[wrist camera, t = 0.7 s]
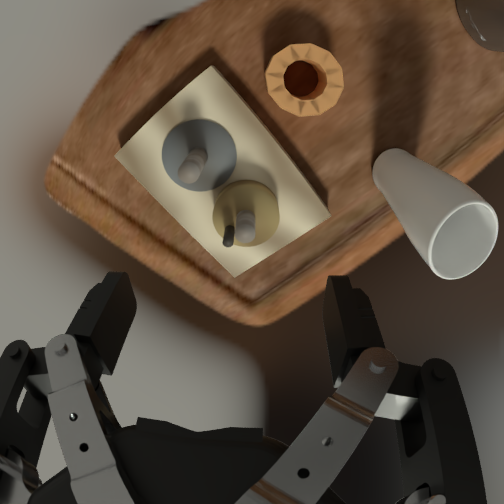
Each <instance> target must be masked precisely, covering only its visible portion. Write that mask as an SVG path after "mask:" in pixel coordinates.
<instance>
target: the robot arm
mask: <svg viewBox="0 0 504 504" xmlns="http://www.w3.org/2000/svg"><path fill="white" fill-rule="evenodd" d="M456 4H457V10H458V13H459V16H460V19H461V21H462V23H463V25H464V27H465V29H466V30H467V32H468V33H469V34H470V36H471V37H472V38H473V39H474V40H475V41H476V42H477V43H478V44H479V45H481V46H482V47H484V48H486V49H488V50H492V51H500V52H504V0H456ZM136 309H137V304H136V298H135V295H134V292H133V289H132V286H131V283H130V279H129V276H128V274H127V273H126V272H108V273H107V275H106V276H105V278H104V280H103V281H102V283H98V284H97V285H95V286H94V287H93V288H92V289H91V290H90V291H89V292H88V294H87V296H86V298H85V299H84V301H83V303H82V304H81V306H80V309H79V310H78V311H77V313H76V315H75V317H74V319H73V320H72V322H71V324H70V326H69V328H68V329H67V331H66V333H65V334H61V335H58V336H56V337H54V338H52V339H51V340H50V341H49V342H48V344H47V346H46V347H42V348H35V349H31V348H30V347H29V345H28V344H27V343H26V342H25V341H24V340H16V341H14V342H12V343H10V344H9V345H8V346H7V347H6V348H5V350H4V352H3V354H2V356H1V357H0V504H346V503H345V502H344V501H343V500H342V499H341V498H340V497H339V496H338V495H337V494H336V493H335V492H334V491H333V490H331V488H330V487H329V485H330V484H331V483H332V481H333V480H334V478H335V477H336V476H337V474H338V473H339V472H340V470H341V469H342V467H343V466H344V464H345V463H346V461H347V460H348V458H349V457H350V455H351V454H352V452H353V451H354V449H355V448H356V446H357V445H358V443H359V441H360V440H361V438H362V437H363V435H364V433H365V432H366V430H367V428H368V427H369V425H370V423H371V422H372V420H373V417H374V416H379V417H385V418H390V419H394V420H395V426H396V433H397V439H398V447H399V454H400V462H401V471H402V480H403V492H404V498H402V499H401V500H399V501H398V502H396V504H487V500H486V493H485V487H484V481H483V475H482V470H481V465H480V460H479V455H478V451H477V446H476V442H475V438H474V434H473V430H472V426H471V422H470V418H469V415H468V411H467V408H466V405H465V401H464V398H463V394H462V391H461V388H460V385H459V382H458V379H457V376H456V373H455V370H454V369H453V367H452V366H451V365H450V364H449V363H448V362H446V361H445V360H442V359H439V358H432V359H429V360H427V361H426V362H425V363H424V364H423V365H422V367H421V366H415V365H410V364H405V363H402V362H399V361H398V360H397V358H396V357H395V355H394V354H392V352H390V351H389V350H387V349H386V348H385V345H384V342H383V339H382V335H381V333H380V330H379V326H378V323H377V320H376V318H375V314H374V311H373V309H372V306H371V303H370V300H369V297H368V296H367V295H366V294H365V293H364V292H363V291H362V290H361V289H360V288H359V289H358V288H356V289H352V286H351V283H350V280H349V277H348V276H347V275H346V276H328V279H327V284H326V290H325V296H324V301H323V310H322V311H323V312H322V315H323V323H324V329H325V335H326V341H327V347H328V353H329V359H330V365H331V371H332V378H333V385H334V388H336V387H339V388H338V389H337V390H336V392H335V393H334V395H333V396H332V397H331V396H330V397H329V398H328V399H327V400H326V401H325V403H324V404H323V405H322V406H321V408H320V409H319V410H318V412H317V413H316V415H315V416H314V417H313V418H312V420H311V421H310V422H309V423H308V425H307V426H306V427H305V429H304V430H303V431H302V433H301V434H300V435H299V436H298V437H297V439H296V440H295V441H294V442H293V443H292V444H291V446H290V447H289V446H287V445H286V444H284V443H282V442H280V441H278V440H276V439H273V438H270V437H267V436H263V428H238V427H229V428H223V429H217V430H210V431H203V432H195V431H191V430H189V429H186V428H183V427H180V426H178V425H175V424H172V423H169V422H167V421H160V420H153V419H147V418H140V417H138V419H137V423H136V425H131V426H127V427H123V428H122V427H121V426H120V424H119V422H118V421H117V419H116V417H115V415H114V413H113V410H112V408H111V405H110V403H109V401H108V398H107V396H106V393H105V391H104V388H103V386H102V383H101V381H100V377H101V375H102V374H107V375H112V374H113V371H114V368H115V366H116V363H117V360H118V357H119V355H120V352H121V350H122V347H123V344H124V342H125V339H126V337H127V334H128V331H129V328H130V327H131V324H132V322H133V319H134V317H135V314H136ZM23 387H24V388H25V389H26V390H27V392H26V394H25V397H24V399H23V402H22V405H21V407H20V410H19V413H18V412H17V408H16V407H17V402H18V399H19V397H20V394H21V391H22V389H23ZM51 415H52V418H53V422H54V425H55V429H56V433H57V436H58V440H59V443H60V446H61V449H62V452H63V455H64V458H65V461H66V464H67V467H66V468H64V469H63V470H61V471H60V472H59V473H57V474H56V475H55V476H53V477H52V478H51V479H49V480H48V481H46V482H45V483H44V484H42V481H41V480H40V479H39V474H38V471H37V469H36V467H37V463H38V459H39V456H40V452H41V448H42V445H43V441H44V438H45V435H46V431H47V428H48V425H49V422H50V418H51Z"/></svg>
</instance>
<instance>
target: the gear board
mask: <svg viewBox="0 0 504 504" xmlns="http://www.w3.org/2000/svg"><path fill="white" fill-rule="evenodd" d="M115 157H116V158H117V160H118V161H119V162H120V163H121V164H122V165H123V166H124V167H125V168H126V169H127V170H128V171H129V172H130V173H131V174H132V175H133V176H134V177H135V178H136V179H137V180H138V181H139V182H140V183H141V185H142V186H143V187H144V188H145V189H146V190H147V191H148V192H149V193H150V194H151V195H152V196H153V197H154V198H155V199H156V200H157V201H158V202H159V203H160V204H161V205H162V206H163V207H164V208H165V209H166V210H167V211H168V212H169V213H170V214H171V215H172V216H173V217H174V218H175V219H176V220H177V221H178V222H179V223H180V224H181V225H182V226H183V227H184V228H185V229H186V230H187V231H188V232H189V233H190V234H191V235H192V236H193V237H194V238H195V239H196V240H197V241H198V242H199V243H200V244H201V245H202V246H203V247H204V248H205V249H206V250H207V251H208V252H209V253H210V254H211V255H212V256H213V257H214V258H215V259H216V260H217V261H218V262H219V263H220V264H221V265H222V266H223V267H224V268H225V269H226V270H227V271H228V272H229V273H230V274H231V275H232V276H233V277H234V278H235V277H236V276H238V275H240V274H241V273H243V272H244V271H246V270H248V269H249V268H251V267H252V266H254V265H255V264H257V263H259V262H260V261H262V260H263V259H265V258H266V257H268V256H270V255H271V254H273V253H274V252H276V251H278V250H279V249H281V248H282V247H284V246H285V245H287V244H289V243H290V242H292V241H293V240H295V239H296V238H298V237H299V236H301V235H303V234H304V233H306V232H307V231H309V230H310V229H312V228H314V227H315V226H317V225H318V224H320V223H321V222H323V221H324V220H326V219H328V218H329V217H331V214H330V212H329V210H328V208H327V206H326V205H325V203H324V202H323V200H322V199H321V198H320V196H319V195H318V194H317V192H316V191H315V189H314V188H313V187H312V185H311V184H310V183H309V181H308V180H307V179H306V177H305V176H304V174H303V173H302V172H301V170H300V169H299V168H298V167H297V165H296V164H295V163H294V161H293V160H292V159H291V157H290V156H289V155H288V153H287V152H286V151H285V150H284V148H283V147H282V146H281V144H280V143H279V142H278V141H277V139H276V138H275V137H274V136H273V134H272V133H271V132H270V131H269V129H268V128H267V127H266V126H265V124H264V123H263V122H262V121H261V120H260V118H259V117H258V116H257V115H256V114H255V112H254V111H253V110H252V109H251V108H250V106H249V105H248V104H247V103H246V102H245V100H244V99H243V98H242V97H241V96H240V95H239V93H238V92H237V91H236V90H235V89H234V88H233V87H232V85H231V84H230V83H229V82H228V81H227V80H226V79H225V78H224V76H223V75H222V74H221V73H220V72H219V71H218V70H217V69H216V68H215V66H210V67H209V68H207V69H206V70H205V71H204V72H202V73H201V74H200V75H199V76H198V77H196V78H195V79H194V80H193V81H192V82H190V83H189V84H188V85H187V86H186V87H185V88H184V89H182V90H181V91H180V92H179V93H178V94H177V95H176V96H174V97H173V98H172V99H171V100H170V101H169V102H168V103H167V104H166V105H165V106H163V107H162V108H161V109H160V110H159V111H158V112H157V113H156V114H155V115H154V116H153V117H152V118H151V119H150V120H149V121H148V122H147V123H146V124H145V125H144V126H143V127H142V128H141V129H140V130H139V131H138V132H137V133H136V134H135V135H134V136H133V137H132V138H131V139H130V140H129V141H128V142H127V143H126V144H125V145H124V146H123V147H122V148H121V149H120V150H119V152H118V153H117V154H116V155H115Z"/></svg>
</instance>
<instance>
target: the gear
mask: <svg viewBox="0 0 504 504" xmlns="http://www.w3.org/2000/svg"><path fill="white" fill-rule="evenodd" d="M300 60H302V61H304V62H307V63H309V64H311V65H312V66H313V67H314V69H315V70H316V71H317V74H318V84H317V86H316V88H315V90H314V91H313V92H311V93H310V94H308V95H307V96H294V95H292V94H290V93H289V92H288V90H287V89H286V88H285V85H284V78H283V75H284V73H285V71H286V69H287V67H288V66H289V65H290V64H292V63H293V62H295V61H300ZM264 75H265V82H266V88H267V91H268V93H269V94H270V96H271V97H272V98H273V99H274V101H275V102H276V103H277V104H278V106H279V107H280V108H281V109H283V110H285V111H288V112H290V113H293V114H295V115H297V116H300V117H301V116H313V115H320V114H322V113H323V112H325V111H326V110H328V109H329V108H331V107H332V106H334V105H336V103H337V101H338V99H339V96H340V94H341V92H342V90H343V88H344V84H343V74H342V68H341V66H340V65H339V64H338V62H337V61H336V60H335V58H334V57H333V55H332V54H331V53H330V52H329V51H327V50H324V49H322V48H320V47H318V46H316V45H314V44H312V43H307V44H291V45H289V46H287V47H286V48H284V49H283V50H281V51H280V52H278V53H277V54H275V55H274V56H273V57H271V59H270V61H269V64H268V66H267V68H266V70H265V73H264Z"/></svg>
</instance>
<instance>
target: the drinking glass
mask: <svg viewBox="0 0 504 504" xmlns="http://www.w3.org/2000/svg"><path fill="white" fill-rule="evenodd" d="M372 176H373V180H374V183H375V185H376V186H377V188H378V189H379V190H380V191H381V193H382V194H383V195H384V197H385V199H386V200H387V202H388V203H389V205H390V207H391V208H392V210H393V212H394V213H395V215H396V217H397V218H398V220H399V222H400V224H401V225H402V227H403V229H404V231H405V232H406V234H407V235H408V237H409V239H410V241H411V242H412V243H413V245H414V247H415V248H416V250H417V251H418V252H419V254H420V255H421V257H422V258H423V259H424V261H425V262H426V263H427V264H428V265H429V267H430V268H431V269H432V271H433V272H434V273H435V274H436V275H438V276H439V277H441V278H444V279H458V278H461V277H464V276H466V275H468V274H470V273H472V272H473V271H475V270H476V269H477V268H478V267H479V266H480V265H482V264H483V262H484V261H485V260H486V258H487V257H488V256H489V254H490V253H491V251H492V249H493V247H494V244H495V242H496V238H497V234H498V219H497V215H496V213H495V211H494V209H493V208H492V206H491V205H490V204H488V203H487V202H486V201H485V200H484V199H483V198H482V197H481V196H480V195H478V194H477V193H476V192H475V191H474V190H473V189H471V188H470V187H469V186H467V185H466V184H464V183H463V182H462V181H460V180H458V179H457V178H455V177H453V176H452V175H450V174H448V173H446V172H444V171H442V170H440V169H438V168H437V167H435V166H433V165H431V164H429V163H427V162H425V161H423V160H421V159H419V158H417V157H415V156H413V155H411V154H410V153H408V152H407V151H405V150H403V149H399V148H393V149H389V150H386V151H384V152H383V153H381V154H380V155H379V156H378V158H377V159H376V161H375V163H374V165H373V170H372Z"/></svg>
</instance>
